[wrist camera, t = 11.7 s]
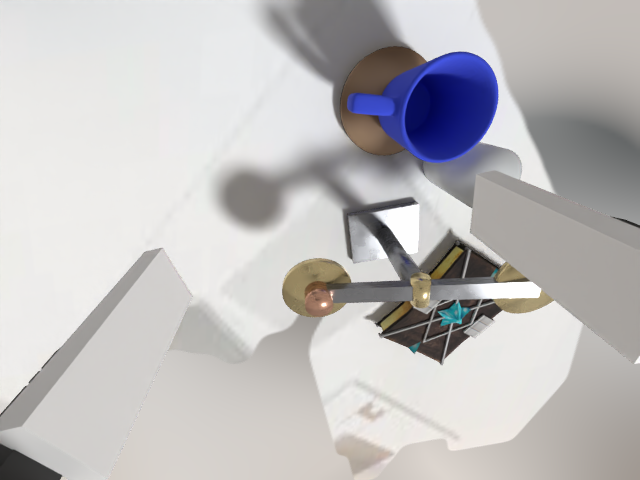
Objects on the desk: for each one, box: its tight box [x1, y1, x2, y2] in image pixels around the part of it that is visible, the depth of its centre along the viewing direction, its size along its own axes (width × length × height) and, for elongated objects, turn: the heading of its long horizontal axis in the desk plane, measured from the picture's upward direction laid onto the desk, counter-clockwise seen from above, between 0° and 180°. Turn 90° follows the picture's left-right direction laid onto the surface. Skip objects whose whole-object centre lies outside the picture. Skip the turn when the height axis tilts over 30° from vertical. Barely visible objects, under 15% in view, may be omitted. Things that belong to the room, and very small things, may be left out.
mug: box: [347, 52, 498, 163], centre depth 26 cm, size 8×12×10 cm
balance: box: [282, 202, 554, 317], centre depth 32 cm, size 8×30×16 cm, turn 99°
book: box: [376, 241, 502, 365], centre depth 46 cm, size 22×17×5 cm
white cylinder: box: [423, 142, 522, 208], centre depth 31 cm, size 6×6×9 cm
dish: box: [340, 46, 426, 155], centre depth 31 cm, size 11×11×1 cm
